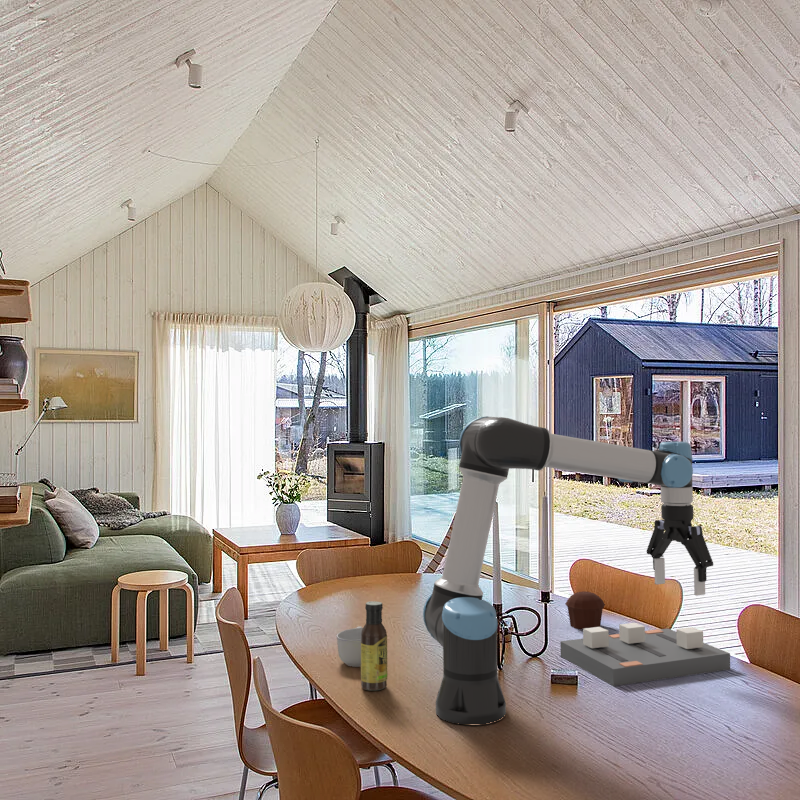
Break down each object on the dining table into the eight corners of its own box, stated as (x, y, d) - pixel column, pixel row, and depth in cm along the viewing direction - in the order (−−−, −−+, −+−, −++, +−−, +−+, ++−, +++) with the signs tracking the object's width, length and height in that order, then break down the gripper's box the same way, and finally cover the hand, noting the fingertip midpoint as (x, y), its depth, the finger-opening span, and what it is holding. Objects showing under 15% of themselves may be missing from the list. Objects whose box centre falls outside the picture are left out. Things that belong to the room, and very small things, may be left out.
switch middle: (645, 641, 205) (644, 626, 205) (628, 643, 204) (628, 628, 204) (635, 637, 209) (635, 622, 209) (619, 639, 208) (619, 624, 208)
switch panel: (730, 669, 196) (730, 652, 196) (613, 686, 185) (613, 668, 185) (668, 642, 219) (667, 627, 219) (560, 656, 208) (560, 640, 208)
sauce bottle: (383, 693, 182) (383, 607, 182) (357, 691, 184) (357, 605, 184) (390, 683, 188) (389, 600, 189) (365, 682, 190) (364, 599, 190)
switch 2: (703, 647, 200) (703, 631, 200) (687, 649, 199) (686, 633, 199) (692, 642, 204) (692, 627, 204) (676, 644, 203) (676, 629, 203)
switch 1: (608, 646, 202) (608, 630, 202) (591, 648, 200) (591, 632, 200) (599, 642, 206) (599, 626, 206) (583, 644, 204) (583, 628, 204)
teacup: (373, 671, 198) (372, 639, 198) (331, 669, 200) (331, 637, 200) (385, 654, 211) (385, 624, 211) (346, 652, 213) (346, 622, 214)
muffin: (592, 619, 244) (592, 587, 244) (612, 629, 233) (612, 595, 234) (558, 623, 240) (558, 590, 240) (577, 633, 230) (577, 598, 230)
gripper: (727, 507, 186) (730, 597, 186) (653, 497, 209) (655, 578, 209) (703, 510, 183) (706, 601, 183) (631, 499, 206) (633, 581, 206)
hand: (679, 589), depth 196 cm, fingers open, 13 cm apart
